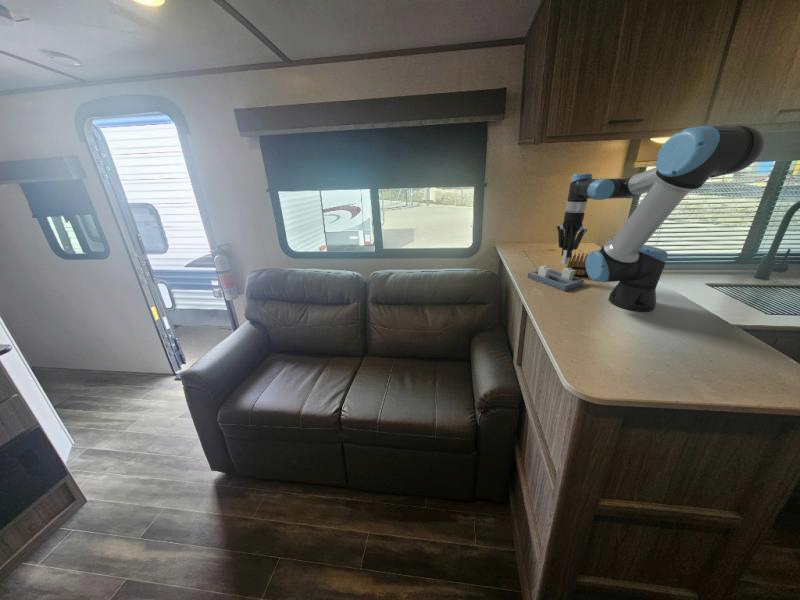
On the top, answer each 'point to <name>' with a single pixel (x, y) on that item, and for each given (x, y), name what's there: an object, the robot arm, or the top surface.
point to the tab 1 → (544, 271)
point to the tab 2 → (568, 273)
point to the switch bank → (556, 280)
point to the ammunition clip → (578, 265)
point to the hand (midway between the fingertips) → (564, 263)
